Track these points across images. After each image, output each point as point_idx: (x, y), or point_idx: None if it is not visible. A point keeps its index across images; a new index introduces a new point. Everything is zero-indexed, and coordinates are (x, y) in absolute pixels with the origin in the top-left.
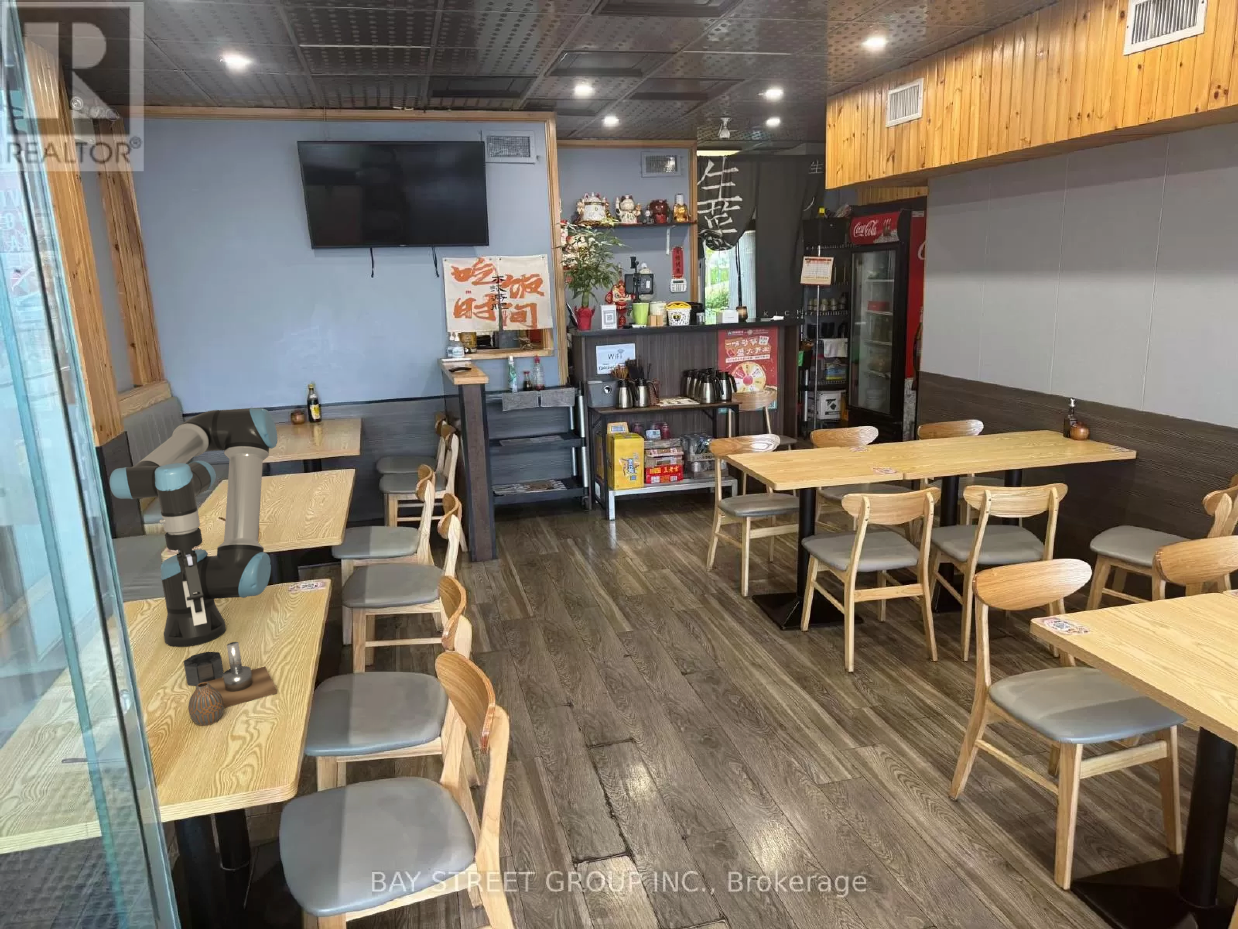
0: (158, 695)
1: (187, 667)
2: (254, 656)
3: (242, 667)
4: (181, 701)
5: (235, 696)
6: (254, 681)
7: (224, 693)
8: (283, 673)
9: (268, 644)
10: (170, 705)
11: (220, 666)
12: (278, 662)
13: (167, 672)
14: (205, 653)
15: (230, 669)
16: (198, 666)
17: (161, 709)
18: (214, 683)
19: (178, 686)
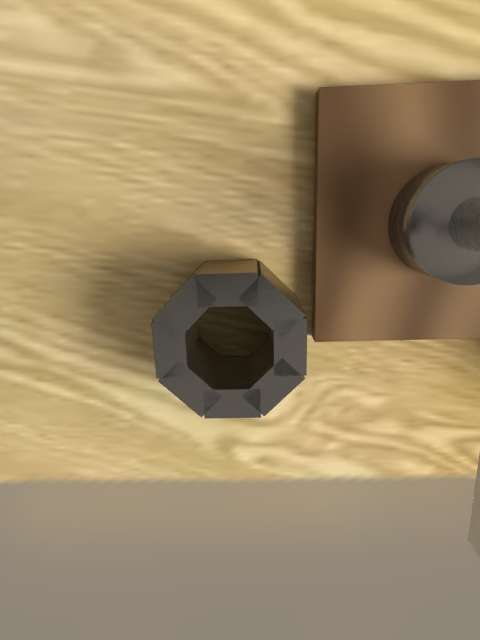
0: (279, 461)
1: (272, 407)
2: (125, 120)
3: (441, 193)
4: (377, 406)
5: None
6: (449, 156)
7: None
8: (395, 19)
9: (15, 36)
10: (383, 436)
11: (269, 275)
12: (257, 22)
13: (103, 428)
14: (168, 331)
15: (423, 248)
16: (304, 370)
17: (393, 459)
18: (352, 304)
19: None
